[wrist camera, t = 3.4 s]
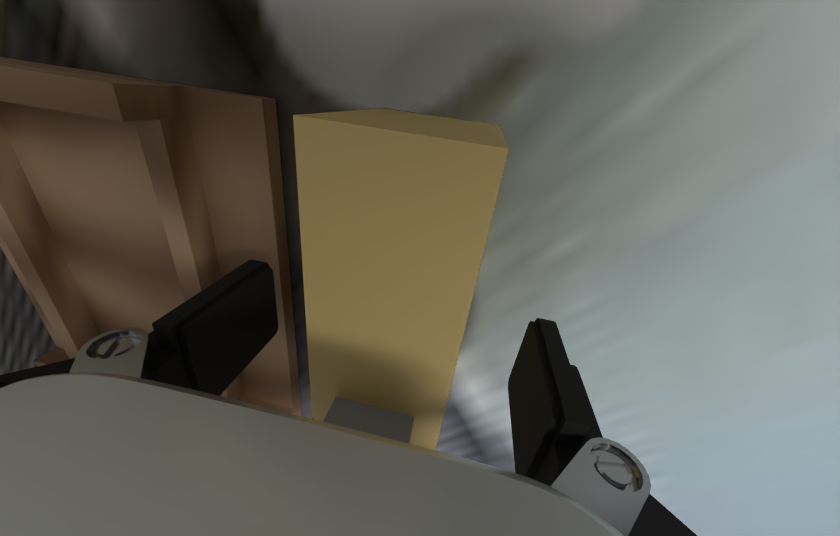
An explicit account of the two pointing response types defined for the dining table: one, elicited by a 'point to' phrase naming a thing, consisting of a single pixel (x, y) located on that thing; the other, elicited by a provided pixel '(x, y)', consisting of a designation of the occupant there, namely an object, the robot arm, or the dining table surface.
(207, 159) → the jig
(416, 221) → the block
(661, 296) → the dining table surface
